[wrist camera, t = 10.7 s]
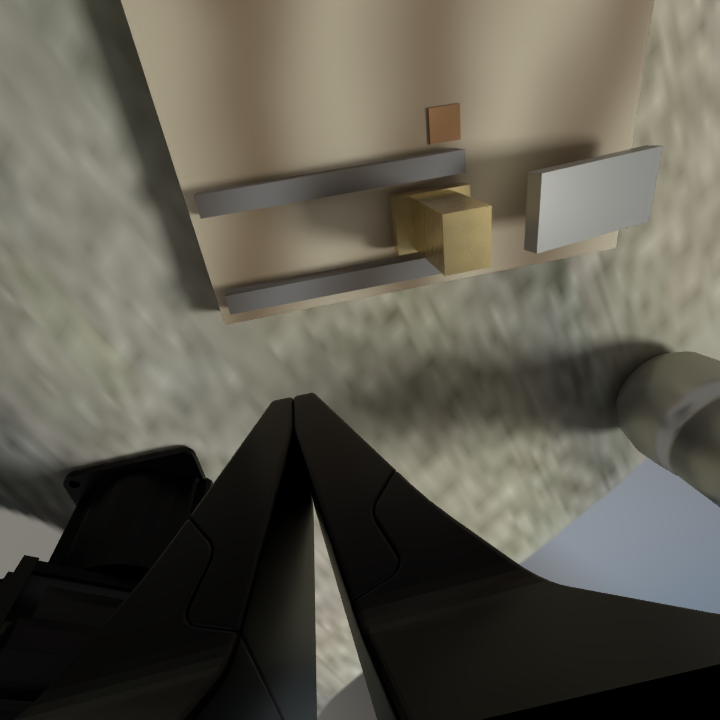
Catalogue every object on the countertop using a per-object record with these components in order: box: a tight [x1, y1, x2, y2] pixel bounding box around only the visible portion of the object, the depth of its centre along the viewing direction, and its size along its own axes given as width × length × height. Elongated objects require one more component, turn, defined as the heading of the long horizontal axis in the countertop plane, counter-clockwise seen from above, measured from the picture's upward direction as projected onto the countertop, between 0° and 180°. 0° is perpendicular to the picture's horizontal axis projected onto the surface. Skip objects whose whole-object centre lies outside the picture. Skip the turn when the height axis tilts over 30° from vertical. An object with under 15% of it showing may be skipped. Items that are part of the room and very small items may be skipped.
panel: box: [121, 0, 654, 325], centre depth 15 cm, size 18×18×4 cm
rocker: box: [524, 146, 663, 254], centre depth 17 cm, size 6×3×1 cm, turn 97°
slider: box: [389, 182, 492, 276], centre depth 16 cm, size 3×2×4 cm
